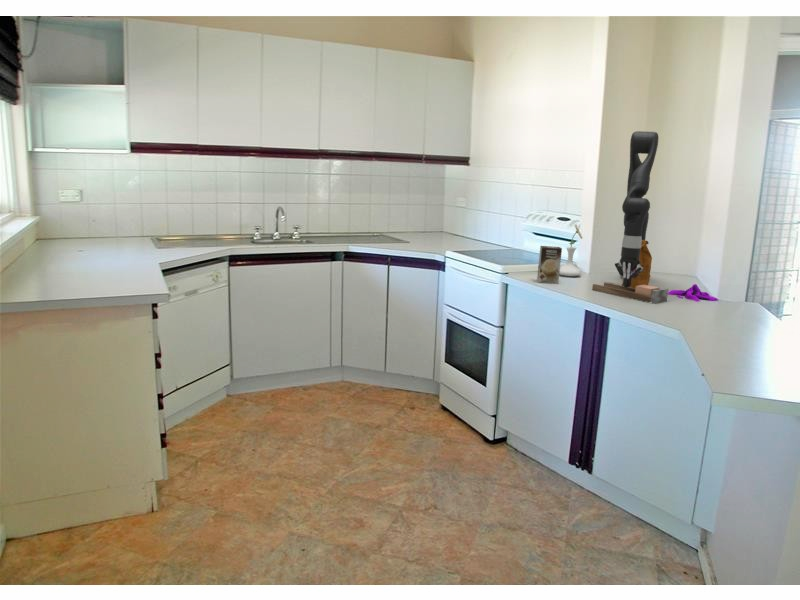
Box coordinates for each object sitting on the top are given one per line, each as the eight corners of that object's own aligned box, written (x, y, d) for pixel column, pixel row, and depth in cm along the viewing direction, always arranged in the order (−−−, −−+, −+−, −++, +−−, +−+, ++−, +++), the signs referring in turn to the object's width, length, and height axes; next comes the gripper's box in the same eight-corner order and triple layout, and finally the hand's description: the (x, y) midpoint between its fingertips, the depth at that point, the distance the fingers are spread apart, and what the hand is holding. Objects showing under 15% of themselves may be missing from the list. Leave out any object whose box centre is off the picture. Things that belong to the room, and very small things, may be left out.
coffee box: (538, 282, 294) (541, 247, 290) (536, 279, 300) (539, 245, 296) (558, 283, 293) (562, 248, 289) (556, 281, 299) (560, 246, 296)
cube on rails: (605, 287, 287) (606, 276, 286) (666, 301, 264) (668, 289, 263) (592, 289, 281) (593, 278, 280) (653, 303, 259) (655, 291, 257)
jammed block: (642, 296, 271) (644, 284, 270) (657, 299, 265) (659, 287, 264) (634, 297, 267) (635, 285, 266) (649, 301, 262) (651, 289, 261)
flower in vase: (576, 278, 306) (581, 226, 301) (553, 275, 312) (557, 223, 307) (584, 275, 317) (590, 224, 312) (562, 272, 323) (567, 222, 318)
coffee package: (640, 285, 296) (646, 237, 292) (650, 290, 284) (656, 241, 279) (619, 284, 296) (624, 236, 292) (628, 290, 284) (634, 240, 279)
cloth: (660, 292, 285) (662, 278, 283) (702, 293, 285) (704, 280, 284) (682, 303, 263) (684, 289, 262) (728, 305, 263) (730, 290, 262)
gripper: (650, 247, 267) (645, 288, 271) (622, 243, 277) (618, 283, 281) (640, 248, 262) (635, 290, 266) (612, 244, 272) (608, 284, 276)
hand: (626, 286), depth 273 cm, fingers closed
